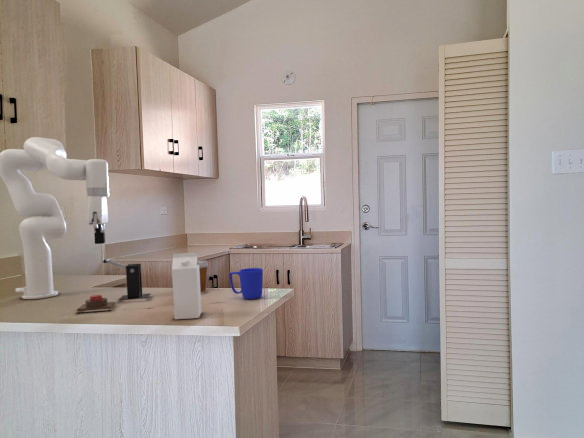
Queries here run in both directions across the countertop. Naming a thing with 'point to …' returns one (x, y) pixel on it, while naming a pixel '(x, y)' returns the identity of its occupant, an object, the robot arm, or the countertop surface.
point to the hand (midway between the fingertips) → (100, 243)
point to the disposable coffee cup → (203, 274)
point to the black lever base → (134, 283)
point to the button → (95, 297)
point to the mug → (249, 282)
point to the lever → (114, 263)
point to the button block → (95, 306)
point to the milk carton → (186, 286)
